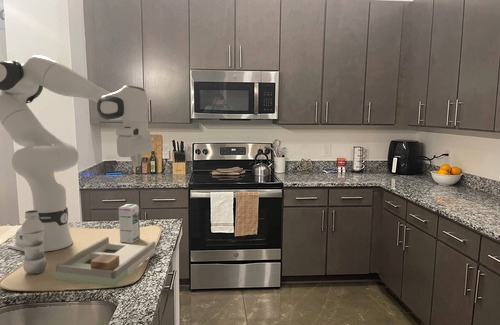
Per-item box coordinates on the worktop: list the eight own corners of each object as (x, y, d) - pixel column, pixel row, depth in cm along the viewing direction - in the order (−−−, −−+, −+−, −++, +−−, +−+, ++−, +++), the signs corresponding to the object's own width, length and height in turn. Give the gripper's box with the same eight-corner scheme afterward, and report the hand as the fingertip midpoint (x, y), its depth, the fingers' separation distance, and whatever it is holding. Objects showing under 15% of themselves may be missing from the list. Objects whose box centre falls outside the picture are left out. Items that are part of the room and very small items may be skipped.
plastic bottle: (31, 278, 116) (26, 215, 113) (19, 273, 119) (15, 212, 117) (51, 270, 121) (47, 211, 118) (39, 266, 125) (36, 207, 122)
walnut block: (91, 273, 114) (90, 261, 113) (102, 265, 120) (102, 254, 119) (108, 275, 113) (108, 263, 112) (119, 267, 119) (119, 255, 118)
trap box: (56, 279, 115) (55, 265, 115) (106, 248, 142) (106, 236, 141) (114, 286, 111) (114, 272, 111) (155, 253, 138) (155, 241, 137)
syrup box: (133, 243, 147) (132, 207, 145) (119, 242, 148) (118, 206, 146) (140, 238, 153) (139, 204, 151) (126, 237, 154) (125, 203, 152)
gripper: (141, 128, 150) (142, 162, 152) (113, 130, 130) (114, 170, 132) (156, 128, 149) (156, 163, 150) (129, 131, 129) (130, 170, 131)
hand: (136, 166), depth 141 cm, fingers closed
